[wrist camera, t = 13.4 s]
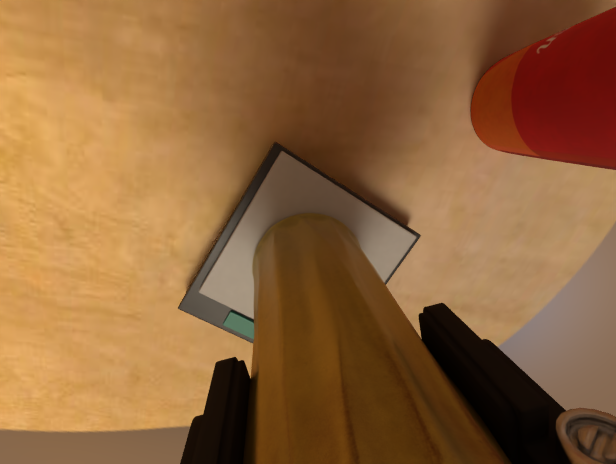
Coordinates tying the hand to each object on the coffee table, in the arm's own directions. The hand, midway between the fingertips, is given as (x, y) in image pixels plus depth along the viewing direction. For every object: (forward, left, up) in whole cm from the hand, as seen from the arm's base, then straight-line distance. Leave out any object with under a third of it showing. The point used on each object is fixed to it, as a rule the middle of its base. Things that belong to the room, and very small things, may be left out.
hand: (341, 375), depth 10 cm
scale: (0, -1, -12) cm, 12 cm away
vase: (0, 0, -9) cm, 9 cm away
